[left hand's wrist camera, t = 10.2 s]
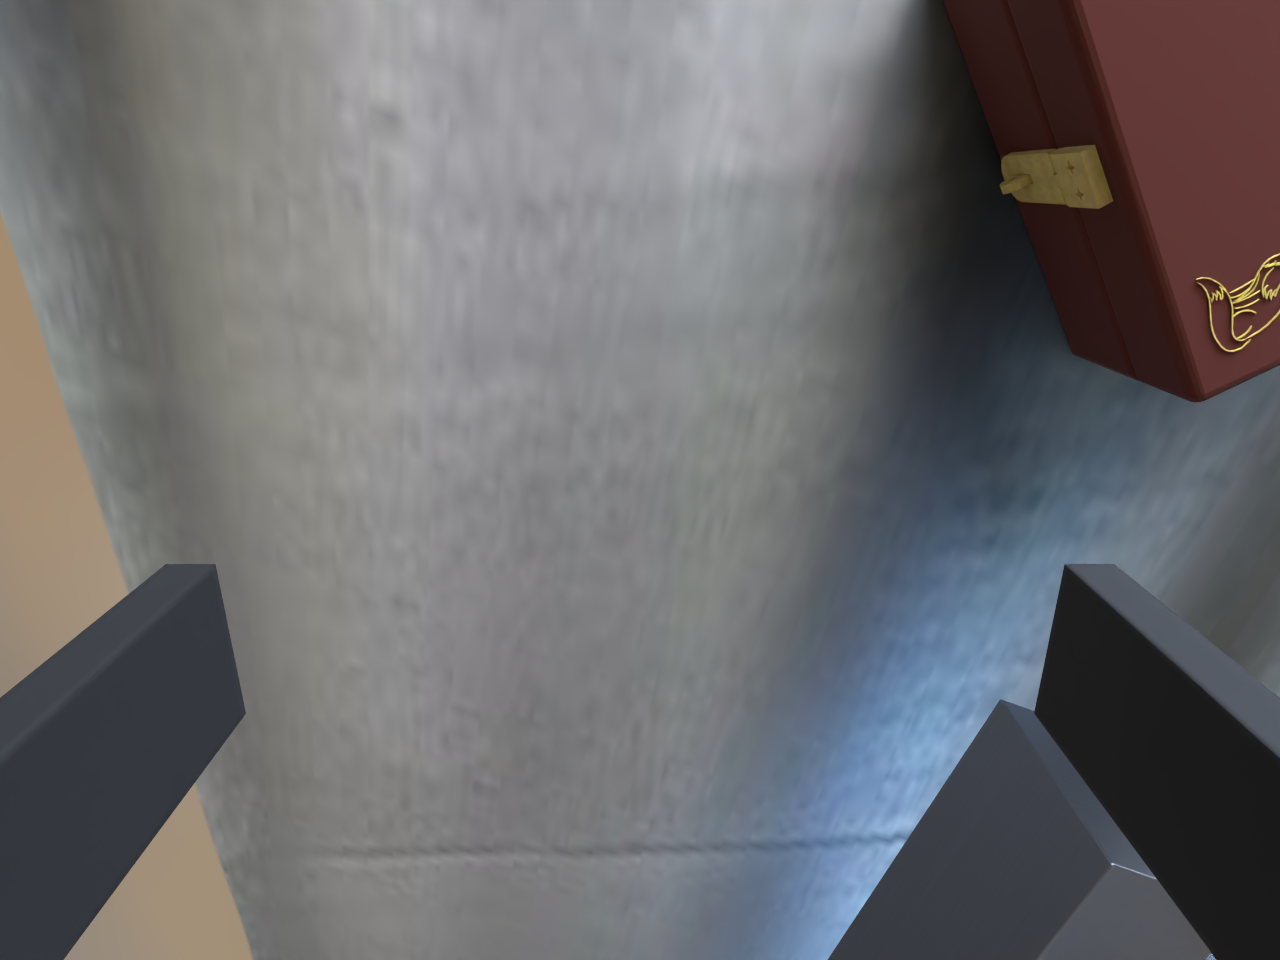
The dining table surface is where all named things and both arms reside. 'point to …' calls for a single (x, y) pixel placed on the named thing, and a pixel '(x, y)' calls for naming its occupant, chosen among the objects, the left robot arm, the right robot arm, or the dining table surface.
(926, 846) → the bar
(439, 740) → the dining table surface
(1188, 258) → the box
